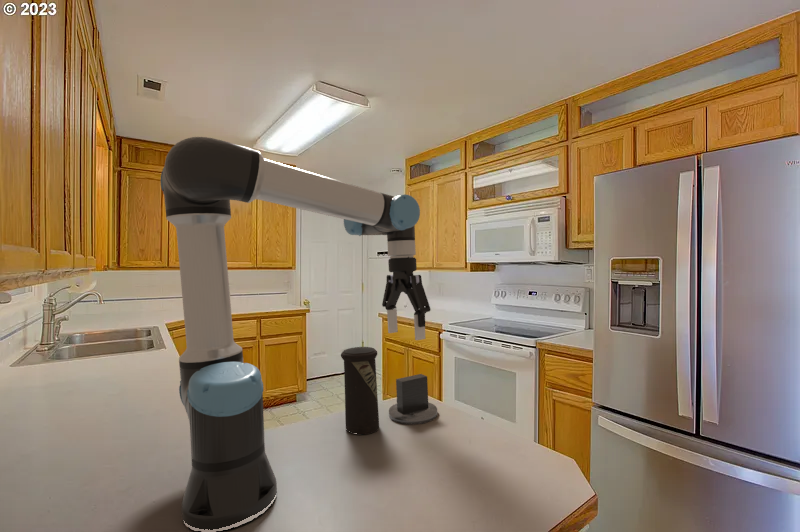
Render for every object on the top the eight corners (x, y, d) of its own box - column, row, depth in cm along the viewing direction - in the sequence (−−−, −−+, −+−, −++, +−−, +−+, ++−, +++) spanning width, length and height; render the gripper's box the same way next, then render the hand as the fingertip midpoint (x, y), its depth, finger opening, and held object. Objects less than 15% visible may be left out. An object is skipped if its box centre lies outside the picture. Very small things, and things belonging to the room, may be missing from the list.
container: (371, 438, 91) (368, 352, 91) (337, 433, 94) (334, 351, 94) (385, 423, 99) (382, 345, 99) (354, 419, 102) (351, 343, 102)
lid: (447, 416, 102) (445, 379, 102) (405, 429, 96) (403, 388, 95) (420, 402, 113) (418, 368, 113) (380, 412, 107) (379, 376, 107)
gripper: (441, 254, 96) (445, 340, 96) (390, 258, 117) (394, 328, 117) (416, 255, 92) (421, 345, 92) (368, 259, 113) (372, 331, 113)
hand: (405, 335), depth 105 cm, fingers open, 13 cm apart
